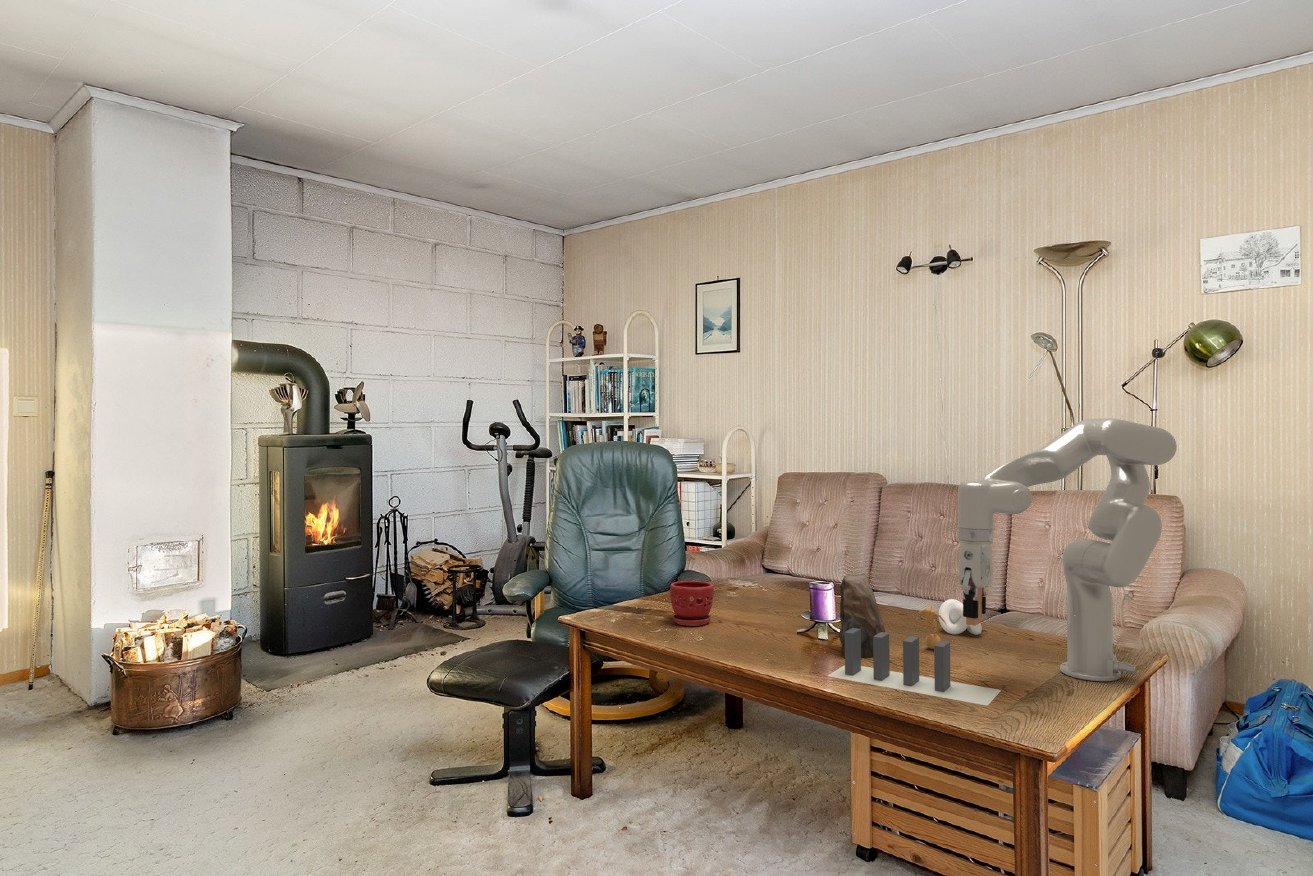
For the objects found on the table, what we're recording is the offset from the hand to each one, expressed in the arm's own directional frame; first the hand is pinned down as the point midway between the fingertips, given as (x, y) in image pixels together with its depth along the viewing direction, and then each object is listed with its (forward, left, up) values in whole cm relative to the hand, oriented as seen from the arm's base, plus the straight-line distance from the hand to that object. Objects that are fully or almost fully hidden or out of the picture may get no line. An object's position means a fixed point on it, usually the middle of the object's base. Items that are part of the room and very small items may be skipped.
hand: (974, 614), depth 183 cm
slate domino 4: (+5, +9, -15) cm, 18 cm away
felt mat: (+12, +9, -16) cm, 21 cm away
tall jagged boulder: (+30, -8, -16) cm, 35 cm away
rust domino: (0, 0, -2) cm, 2 cm away
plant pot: (+86, -12, -16) cm, 88 cm away
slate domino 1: (+26, +9, -15) cm, 31 cm away
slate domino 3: (+12, +9, -15) cm, 21 cm away
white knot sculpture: (+16, -44, -16) cm, 50 cm away
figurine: (+17, -22, -16) cm, 32 cm away
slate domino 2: (+19, +9, -15) cm, 26 cm away
